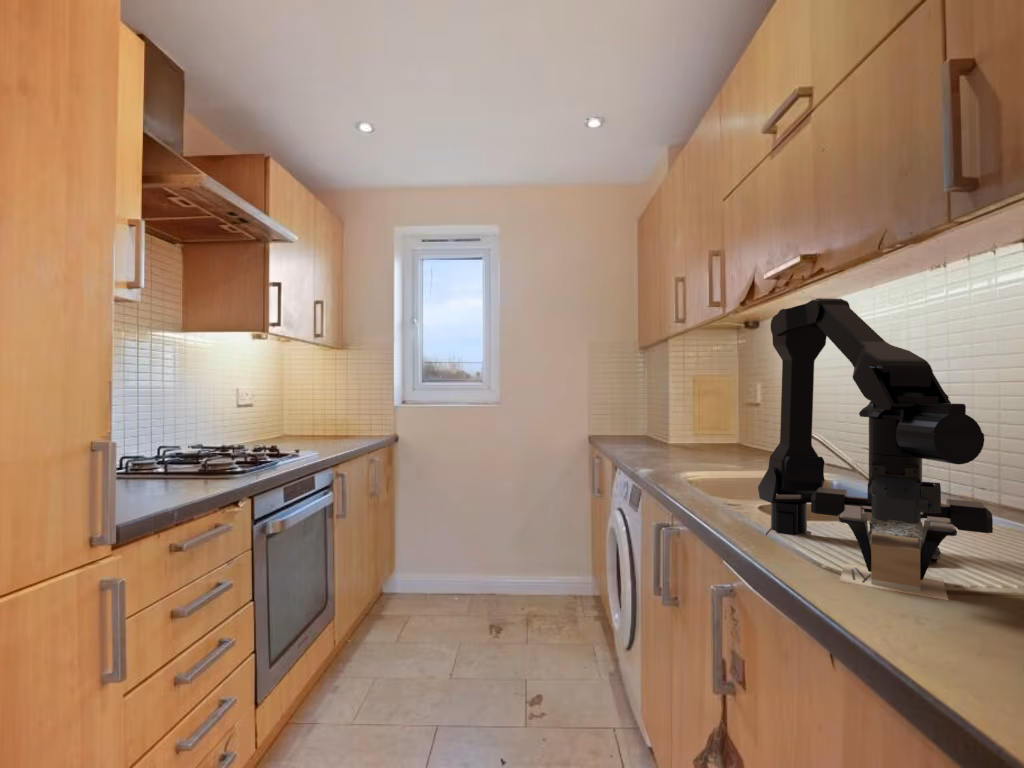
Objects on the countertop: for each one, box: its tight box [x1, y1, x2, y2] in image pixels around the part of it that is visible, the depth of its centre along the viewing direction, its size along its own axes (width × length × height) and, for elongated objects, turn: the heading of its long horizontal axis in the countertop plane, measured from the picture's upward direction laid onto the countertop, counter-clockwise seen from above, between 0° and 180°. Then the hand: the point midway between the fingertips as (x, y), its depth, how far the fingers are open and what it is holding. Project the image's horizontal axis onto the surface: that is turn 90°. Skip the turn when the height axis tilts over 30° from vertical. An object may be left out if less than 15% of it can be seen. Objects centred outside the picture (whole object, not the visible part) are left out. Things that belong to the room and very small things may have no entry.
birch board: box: [839, 563, 949, 601], centre depth 72 cm, size 9×11×1 cm
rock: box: [868, 516, 942, 562], centre depth 85 cm, size 13×9×6 cm, turn 162°
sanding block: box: [871, 533, 920, 592], centre depth 72 cm, size 7×5×5 cm
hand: (894, 575), depth 72 cm, fingers closed on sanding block, 5 cm apart
